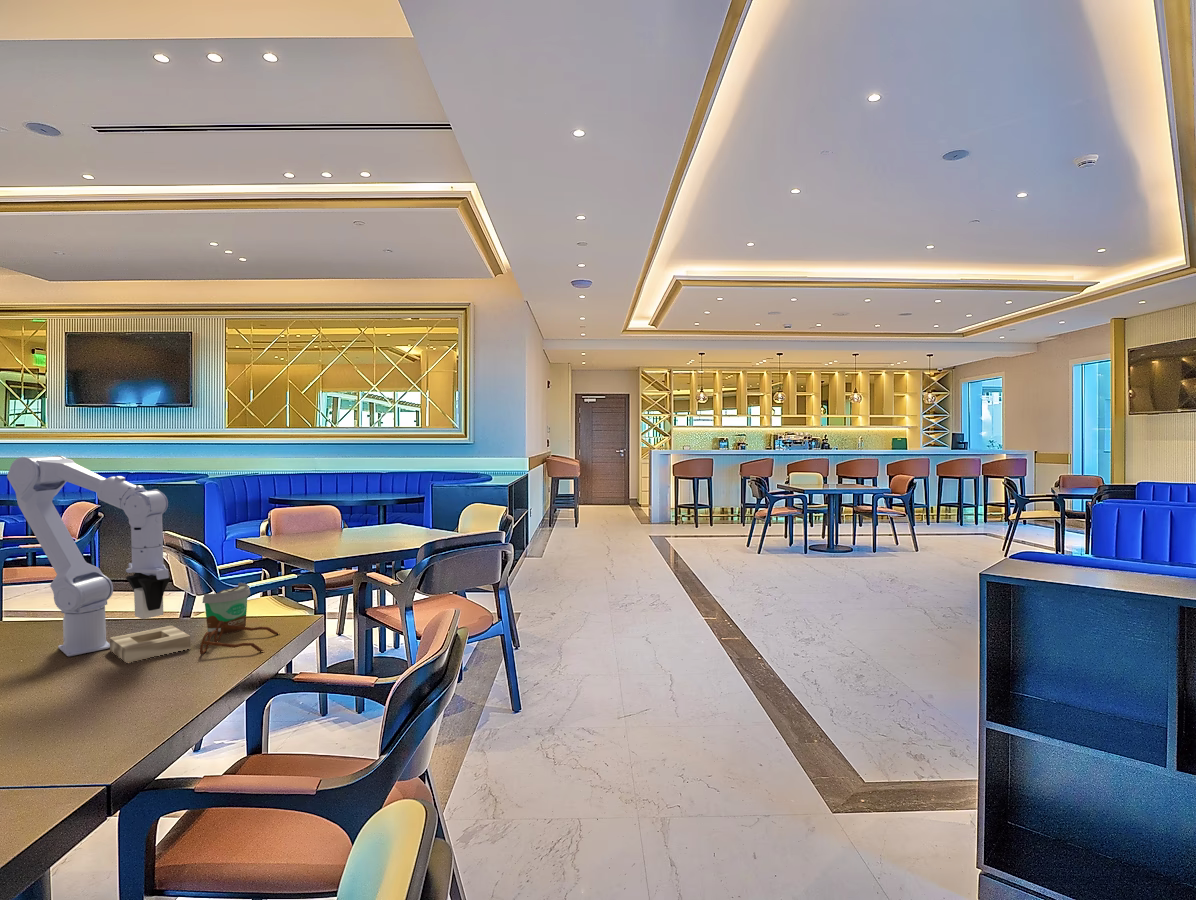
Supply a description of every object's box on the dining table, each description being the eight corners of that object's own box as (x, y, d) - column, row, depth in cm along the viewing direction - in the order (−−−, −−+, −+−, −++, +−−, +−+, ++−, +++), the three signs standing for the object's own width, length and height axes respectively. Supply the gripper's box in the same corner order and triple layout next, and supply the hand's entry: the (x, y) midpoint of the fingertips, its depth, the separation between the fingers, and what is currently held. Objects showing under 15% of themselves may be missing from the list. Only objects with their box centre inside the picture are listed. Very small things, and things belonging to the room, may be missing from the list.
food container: (226, 638, 157) (225, 595, 156) (203, 636, 158) (202, 594, 158) (262, 623, 169) (261, 583, 169) (241, 621, 170) (240, 582, 170)
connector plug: (134, 616, 148) (134, 588, 148) (155, 611, 151) (154, 585, 151) (143, 619, 146) (142, 591, 145) (163, 614, 149) (162, 587, 149)
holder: (110, 651, 148) (109, 637, 148) (172, 638, 157) (171, 625, 157) (126, 663, 140) (125, 649, 140) (190, 649, 149) (190, 635, 149)
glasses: (220, 639, 157) (219, 618, 157) (280, 636, 160) (279, 615, 159) (198, 659, 144) (197, 635, 144) (264, 654, 147) (263, 631, 147)
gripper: (112, 545, 149) (114, 607, 149) (141, 552, 140) (143, 617, 141) (147, 541, 154) (149, 600, 155) (178, 547, 146) (180, 609, 147)
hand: (149, 607), depth 148 cm, fingers closed on connector plug, 4 cm apart
